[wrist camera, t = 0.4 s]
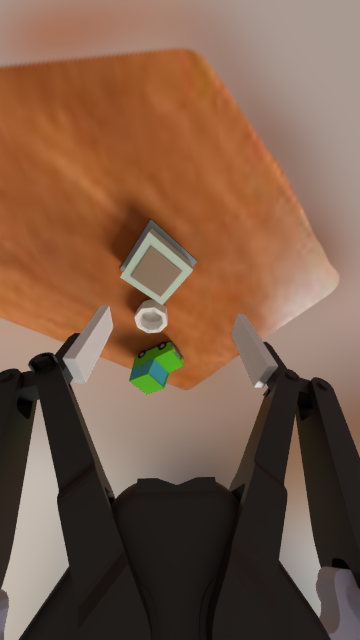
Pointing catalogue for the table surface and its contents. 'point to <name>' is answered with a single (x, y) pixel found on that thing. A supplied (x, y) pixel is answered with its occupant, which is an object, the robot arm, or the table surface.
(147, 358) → the toy car
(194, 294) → the table surface
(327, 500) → the robot arm
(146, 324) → the bowl
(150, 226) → the mat
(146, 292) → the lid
